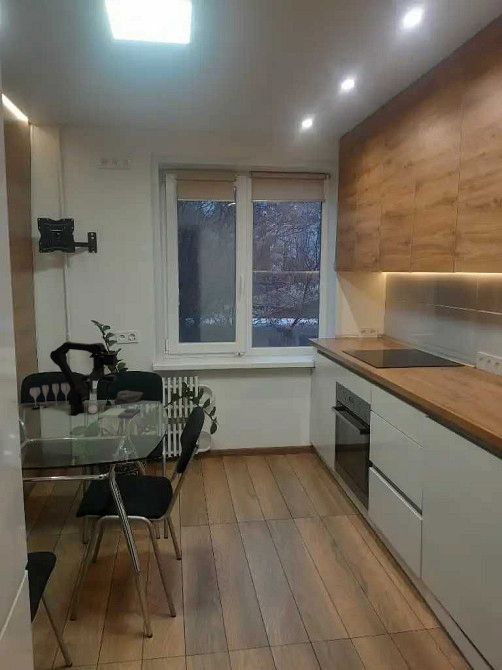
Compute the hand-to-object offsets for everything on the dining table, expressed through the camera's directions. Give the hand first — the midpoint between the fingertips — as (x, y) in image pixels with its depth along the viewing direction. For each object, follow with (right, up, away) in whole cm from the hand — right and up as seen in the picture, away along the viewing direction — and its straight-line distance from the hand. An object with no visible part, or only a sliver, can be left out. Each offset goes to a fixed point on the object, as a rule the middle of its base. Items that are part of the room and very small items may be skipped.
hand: (99, 393), depth 277 cm
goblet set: (-32, -10, +20) cm, 39 cm away
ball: (-4, -9, +1) cm, 10 cm away
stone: (+12, -10, +21) cm, 26 cm away
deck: (+12, -12, 0) cm, 17 cm away
